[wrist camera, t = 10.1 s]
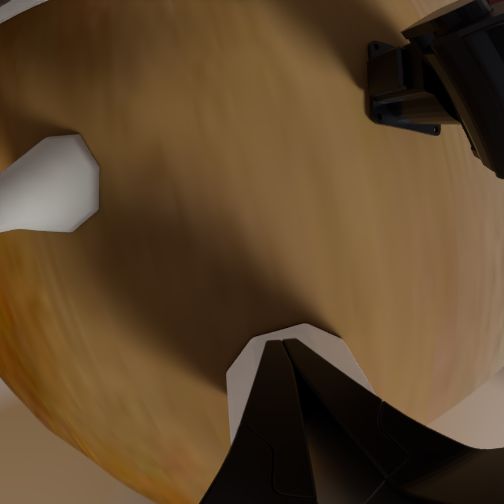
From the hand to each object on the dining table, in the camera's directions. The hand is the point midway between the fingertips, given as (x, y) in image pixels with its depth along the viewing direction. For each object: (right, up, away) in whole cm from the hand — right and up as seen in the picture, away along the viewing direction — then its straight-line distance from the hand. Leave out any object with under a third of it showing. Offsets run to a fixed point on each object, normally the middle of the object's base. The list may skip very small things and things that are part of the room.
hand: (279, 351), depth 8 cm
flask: (-14, +8, +9) cm, 19 cm away
